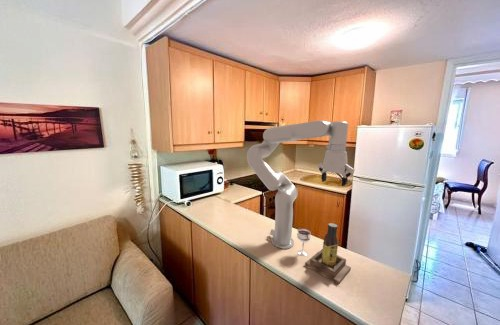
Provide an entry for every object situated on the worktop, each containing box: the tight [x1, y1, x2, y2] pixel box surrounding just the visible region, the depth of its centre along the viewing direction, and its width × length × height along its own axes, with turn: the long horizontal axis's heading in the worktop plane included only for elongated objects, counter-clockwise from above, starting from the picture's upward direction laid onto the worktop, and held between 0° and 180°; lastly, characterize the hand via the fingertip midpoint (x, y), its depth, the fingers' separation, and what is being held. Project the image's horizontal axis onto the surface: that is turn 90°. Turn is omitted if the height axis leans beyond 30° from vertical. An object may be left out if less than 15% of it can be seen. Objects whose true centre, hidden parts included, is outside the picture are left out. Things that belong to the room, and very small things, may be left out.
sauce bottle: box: [321, 222, 339, 268], centre depth 93 cm, size 6×6×20 cm
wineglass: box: [297, 228, 312, 257], centre depth 104 cm, size 7×7×12 cm
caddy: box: [304, 248, 352, 285], centre depth 94 cm, size 16×13×4 cm
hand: (333, 183), depth 98 cm, fingers open, 9 cm apart
